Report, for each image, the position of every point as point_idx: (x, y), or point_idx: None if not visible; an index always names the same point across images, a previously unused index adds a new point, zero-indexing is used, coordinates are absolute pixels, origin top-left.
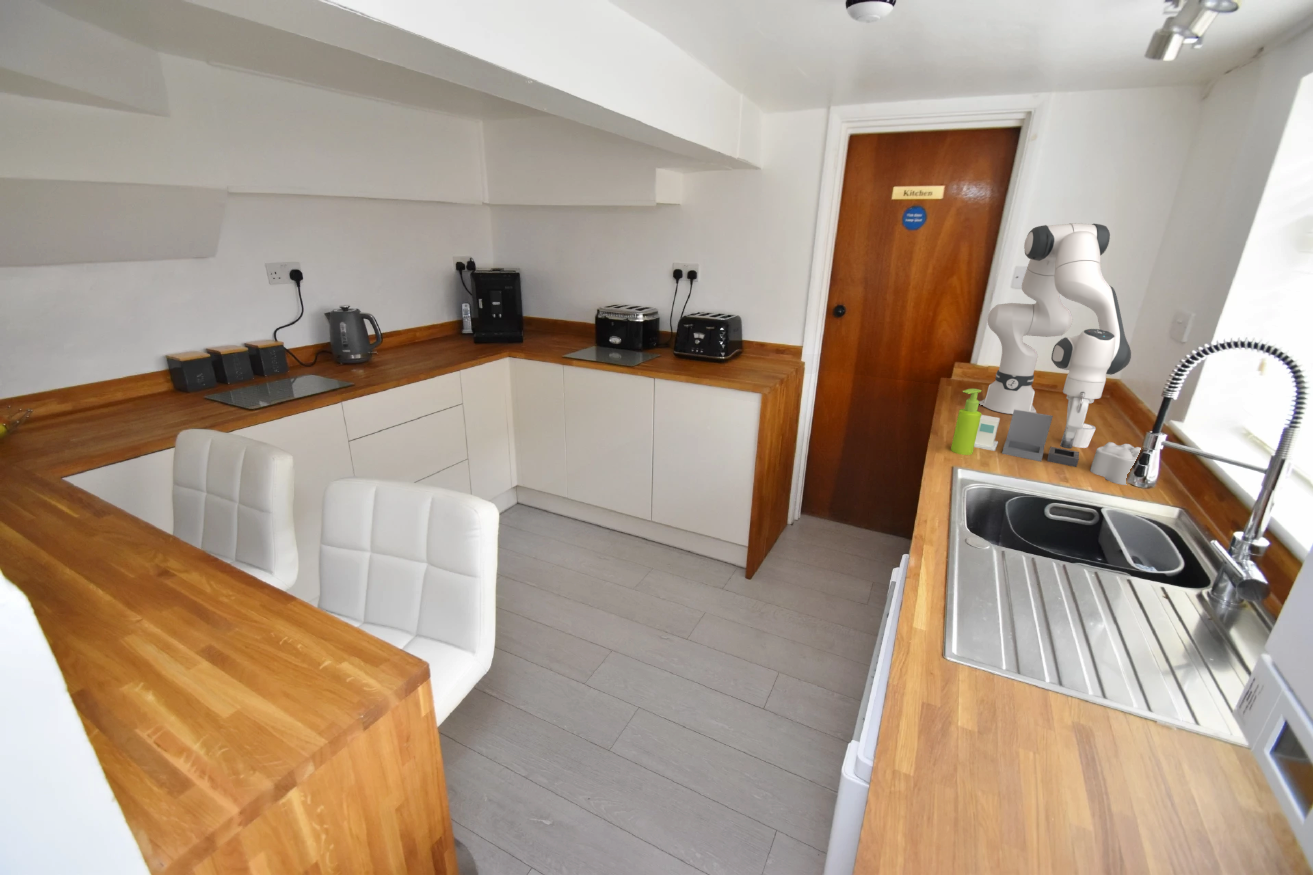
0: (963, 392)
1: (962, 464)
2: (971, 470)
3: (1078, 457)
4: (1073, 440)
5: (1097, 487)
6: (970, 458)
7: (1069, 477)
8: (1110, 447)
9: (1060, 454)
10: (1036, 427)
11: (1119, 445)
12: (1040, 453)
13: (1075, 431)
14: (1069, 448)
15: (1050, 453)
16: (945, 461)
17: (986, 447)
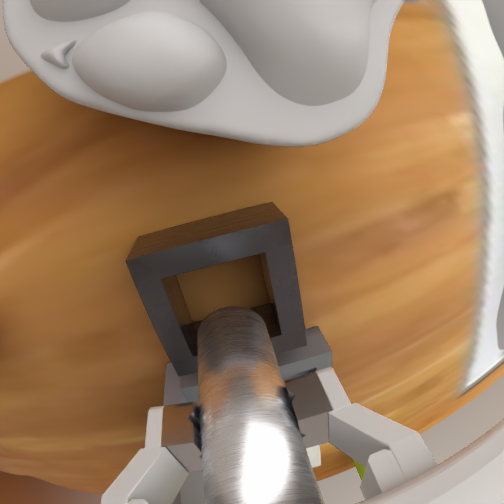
0: None
1: (443, 399)
2: (468, 373)
3: (252, 229)
4: (248, 347)
5: (436, 93)
6: (399, 417)
7: (408, 196)
8: (337, 34)
9: (280, 311)
10: (203, 490)
11: (20, 46)
12: (310, 365)
13: (369, 410)
14: (253, 312)
15: (303, 343)
16: (438, 416)
17: (319, 447)
